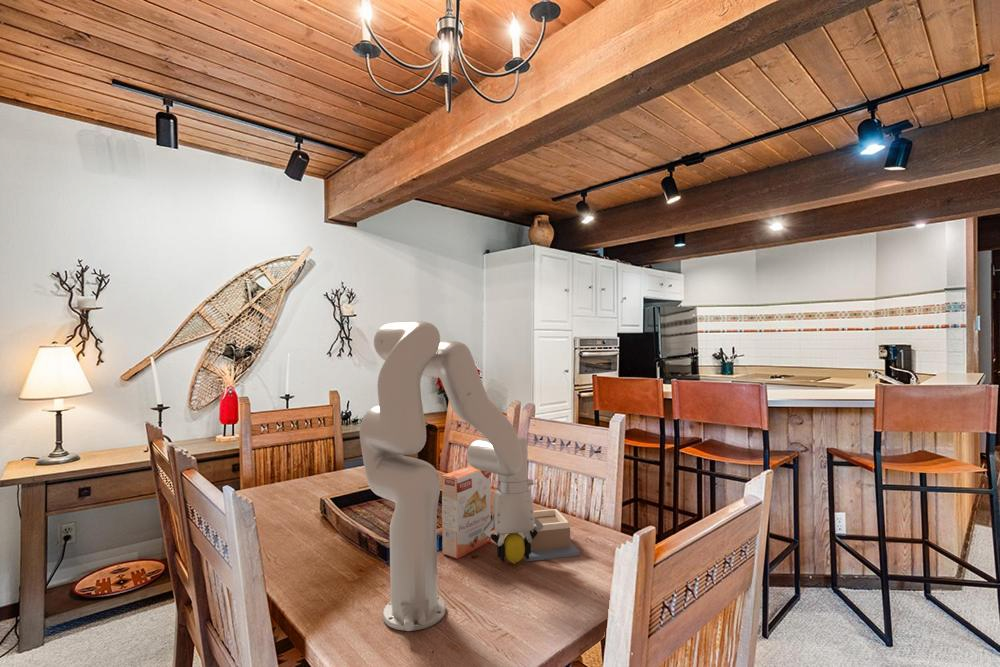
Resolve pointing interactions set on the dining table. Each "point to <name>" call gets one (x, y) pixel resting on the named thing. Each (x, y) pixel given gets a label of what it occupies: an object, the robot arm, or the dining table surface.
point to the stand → (551, 537)
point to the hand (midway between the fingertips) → (514, 557)
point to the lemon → (514, 547)
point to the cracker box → (465, 510)
